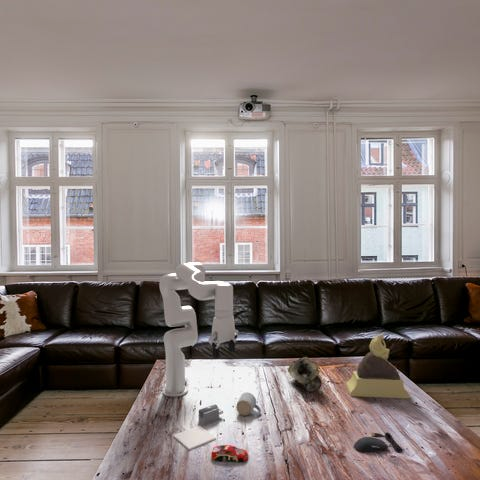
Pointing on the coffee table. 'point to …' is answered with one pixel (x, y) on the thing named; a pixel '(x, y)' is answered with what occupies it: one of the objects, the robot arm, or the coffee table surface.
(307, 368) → the hollow geode rock
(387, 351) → the yellow brown mound sculpture
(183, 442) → the felt coaster
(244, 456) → the race car
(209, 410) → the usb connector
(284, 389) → the coffee table surface
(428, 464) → the coffee table surface
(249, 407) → the ceramic mug
